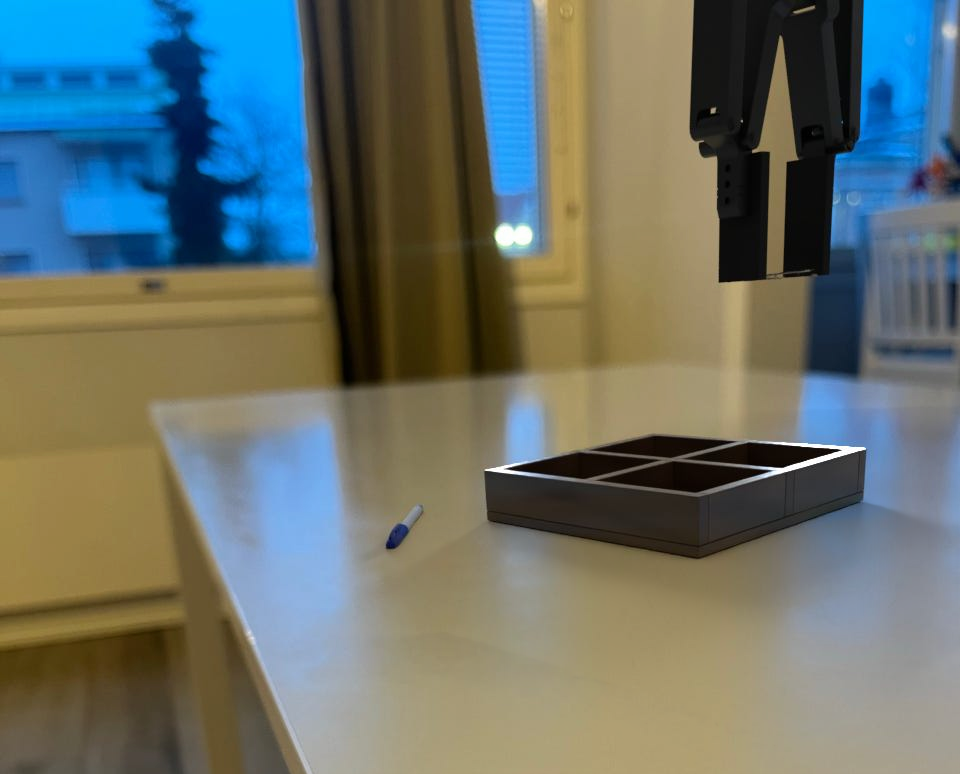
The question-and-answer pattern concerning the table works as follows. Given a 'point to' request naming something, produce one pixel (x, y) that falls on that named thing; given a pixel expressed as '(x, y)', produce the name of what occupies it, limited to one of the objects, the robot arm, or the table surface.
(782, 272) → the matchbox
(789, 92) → the robot arm
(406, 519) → the blue and white marker
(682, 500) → the grid
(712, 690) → the table surface
